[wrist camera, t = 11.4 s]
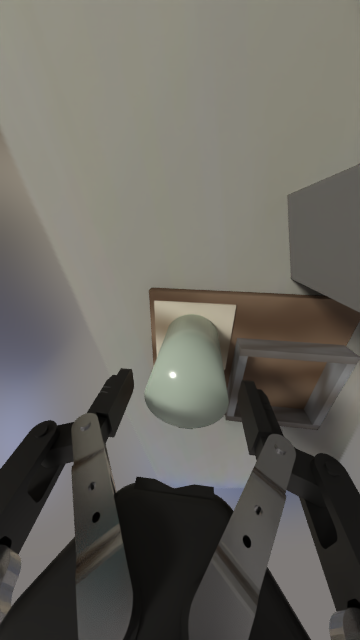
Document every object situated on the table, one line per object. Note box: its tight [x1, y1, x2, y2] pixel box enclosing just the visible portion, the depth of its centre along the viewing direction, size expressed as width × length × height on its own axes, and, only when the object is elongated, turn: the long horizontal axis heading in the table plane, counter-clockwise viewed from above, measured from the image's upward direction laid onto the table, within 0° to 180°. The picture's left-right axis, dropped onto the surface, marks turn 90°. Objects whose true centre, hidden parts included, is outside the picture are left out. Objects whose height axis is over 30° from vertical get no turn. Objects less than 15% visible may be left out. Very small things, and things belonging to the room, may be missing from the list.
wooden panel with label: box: [149, 288, 360, 430], centre depth 20 cm, size 17×20×3 cm
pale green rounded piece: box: [145, 314, 229, 429], centre depth 16 cm, size 6×8×8 cm
